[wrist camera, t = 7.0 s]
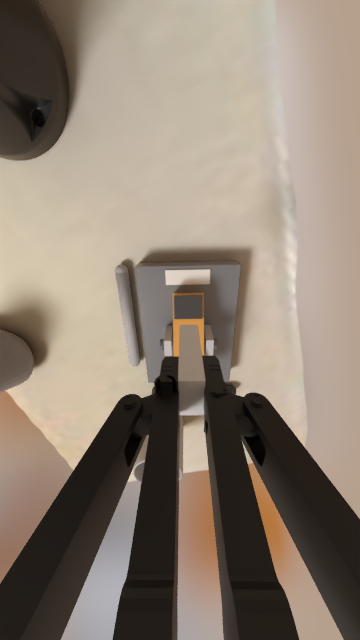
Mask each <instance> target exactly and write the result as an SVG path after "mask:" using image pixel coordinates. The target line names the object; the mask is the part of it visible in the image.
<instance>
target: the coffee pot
mask: <svg viewBox="0 0 360 640" xmlns="http://www.w3.org/2000/svg"><path fill="white" fill-rule="evenodd" d="M33 366H34V359H33V355H32V353H31V350H30V348H29V346H28V345H27V343H26V342H25V341H24V340H23V339H22V338H20V337H19V336H17V335H15V334H13V333H10V332H7V331H4V330H0V392H2V391H5V390H7V389H9V388H12V387H14V386H17V385H19V384H21V383H23V382H24V381H26V380H27V379H28V378H29V377H30V375H31V374H32V370H33Z"/></svg>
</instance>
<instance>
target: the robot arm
mask: <svg viewBox="0 0 360 640" xmlns="http://www.w3.org/2000/svg"><path fill="white" fill-rule="evenodd" d="M68 101H69V87H68V76H67V70H66V65H65V60H64V56H63V53H62V49H61V46H60V43H59V41H58V38H57V35H56V33H55V31H54V29H53V26H52V24H51V22H50V20H49V19H48V17H47V15H46V13H45V11H44V10H43V8H42V7H41V5H40V4H39V2H38V1H37V0H0V157H2V158H5V159H10V160H29V159H33V158H36V157H38V156H40V155H42V154H43V153H45V152H46V151H47V150H49V149H50V148H51V147H52V146H53V144H54V143H55V142H56V140H57V139H58V137H59V135H60V134H61V131H62V129H63V126H64V124H65V120H66V116H67V111H68ZM154 384H155V393H154V394H152V395H150V396H148V397H144V398H140V396H138V395H136V394H129V395H126V396H124V397H122V398H121V399H120V400H119V401H118V403H117V405H116V406H115V408H114V409H113V411H112V412H111V414H110V415H109V417H108V418H107V420H106V422H105V423H104V425H103V426H102V428H101V429H100V431H99V432H98V434H97V435H96V437H95V439H94V440H93V442H92V443H91V445H90V446H89V448H88V449H87V451H86V452H85V454H84V455H83V457H82V459H81V460H80V462H79V463H78V465H77V466H76V468H75V469H74V471H73V472H72V474H71V476H70V477H69V479H68V480H67V482H66V483H65V485H64V486H63V488H62V489H61V491H60V493H59V494H58V496H57V497H56V499H55V500H54V502H53V503H52V505H51V506H50V508H49V509H48V511H47V513H46V514H45V516H44V517H43V519H42V520H41V522H40V523H39V525H38V526H37V528H36V530H35V531H34V533H33V534H32V536H31V537H30V539H29V541H28V542H27V543H26V545H25V547H24V548H23V550H22V551H21V553H20V555H19V556H18V557H17V559H16V560H15V562H14V563H13V565H12V567H11V568H10V570H9V571H8V573H7V574H6V576H5V577H4V579H3V580H2V582H1V584H0V640H61V637H62V635H63V633H64V630H65V628H66V626H67V623H68V621H69V619H70V616H71V614H72V611H73V609H74V607H75V604H76V602H77V599H78V597H79V595H80V592H81V590H82V588H83V585H84V583H85V580H86V578H87V576H88V573H89V571H90V569H91V566H92V564H93V562H94V559H95V557H96V554H97V552H98V550H99V547H100V545H101V543H102V540H103V538H104V536H105V533H106V531H107V528H108V526H109V524H110V521H111V519H112V516H113V514H114V512H115V509H116V507H117V505H118V502H119V500H120V498H121V495H122V493H123V490H124V488H125V486H126V483H127V481H128V479H129V476H130V474H131V471H132V469H133V467H134V464H135V462H136V460H137V457H138V455H139V452H140V450H141V448H142V445H143V443H144V441H145V438H146V436H147V435H149V438H148V444H147V451H146V457H145V464H144V470H143V477H142V483H141V491H140V496H139V503H138V510H137V516H136V523H135V529H134V536H133V542H132V548H131V555H130V562H129V568H128V573H127V578H126V581H125V583H124V586H123V588H122V592H121V596H120V601H119V606H118V612H117V617H116V623H115V629H114V635H113V640H177V583H178V513H179V511H178V509H179V507H178V506H179V442H180V415H204V416H205V422H204V432H205V435H206V445H207V455H208V465H209V475H210V485H211V496H212V505H213V516H214V526H215V536H216V547H217V557H218V567H219V577H220V587H221V597H222V614H223V633H224V640H299V637H298V633H297V630H296V626H295V622H294V619H293V615H292V612H291V608H290V605H289V602H288V599H287V597H286V594H285V592H284V590H283V588H282V586H281V585H280V583H279V582H278V579H277V576H276V573H275V570H274V566H273V562H272V558H271V554H270V550H269V546H268V542H267V538H266V534H265V530H264V526H263V523H262V519H261V515H260V511H259V507H258V503H257V499H256V495H255V491H254V488H253V484H252V479H251V476H250V472H249V468H248V464H247V460H246V456H245V452H244V448H243V444H244V446H245V447H246V449H247V451H248V453H249V455H250V457H251V459H252V461H253V463H254V465H255V467H256V469H257V471H258V473H259V475H260V477H261V479H262V480H263V482H264V484H265V486H266V488H267V490H268V492H269V494H270V496H271V498H272V500H273V502H274V504H275V506H276V508H277V510H278V512H279V514H280V516H281V518H282V520H283V522H284V524H285V525H286V527H287V529H288V531H289V533H290V535H291V537H292V539H293V541H294V543H295V545H296V547H297V549H298V551H299V552H300V555H301V557H302V559H303V561H304V563H305V564H306V566H307V568H308V570H309V572H310V574H311V576H312V578H313V580H314V582H315V584H316V586H317V588H318V590H319V592H320V594H321V596H322V598H323V600H324V602H325V603H326V605H327V607H328V609H329V611H330V613H331V615H332V617H333V619H334V621H335V623H336V625H337V627H338V628H339V631H340V633H341V635H342V637H343V639H344V640H360V519H359V518H358V516H357V515H356V514H355V513H354V511H353V510H352V509H351V507H350V506H349V505H348V503H347V502H346V501H345V500H344V498H343V497H342V496H341V494H340V493H339V492H338V490H337V489H336V488H335V486H333V484H332V483H331V481H330V480H329V479H328V477H327V476H326V475H325V474H324V472H323V471H322V470H321V468H320V467H319V466H318V464H317V463H316V462H315V461H314V459H313V458H312V457H311V455H310V454H309V453H308V451H307V450H306V449H305V447H304V446H303V445H302V444H301V442H300V441H299V440H298V438H297V437H296V436H295V434H294V433H293V432H292V431H291V429H290V428H289V427H288V425H287V424H286V423H285V421H284V420H283V419H282V418H281V416H280V415H279V414H278V412H277V411H276V410H275V408H274V407H273V406H272V405H271V403H270V402H269V401H268V399H267V398H265V397H264V396H263V395H261V394H258V393H249V394H246V396H245V397H241V396H237V395H234V394H232V393H231V392H229V391H228V389H227V388H226V386H225V383H224V379H223V375H222V371H221V367H220V363H219V360H218V358H217V357H216V356H215V355H213V356H202V352H201V344H200V337H199V329H198V325H180V334H179V356H167V357H165V358H164V359H163V360H162V364H161V371H160V376H158V377H157V378H156V379H155V381H154ZM242 442H243V444H242Z"/></svg>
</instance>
